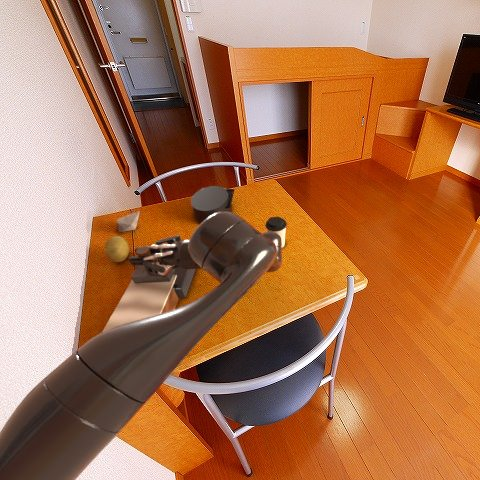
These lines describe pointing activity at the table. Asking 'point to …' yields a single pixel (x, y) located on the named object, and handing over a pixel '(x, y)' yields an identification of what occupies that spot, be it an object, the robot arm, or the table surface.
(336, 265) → the table surface
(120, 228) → the paper boat
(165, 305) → the beige flat block
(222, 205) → the dark grey round pot
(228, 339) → the table surface
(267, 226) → the coffee cup
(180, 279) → the bin
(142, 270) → the stamp with brown handle
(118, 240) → the sculpture
